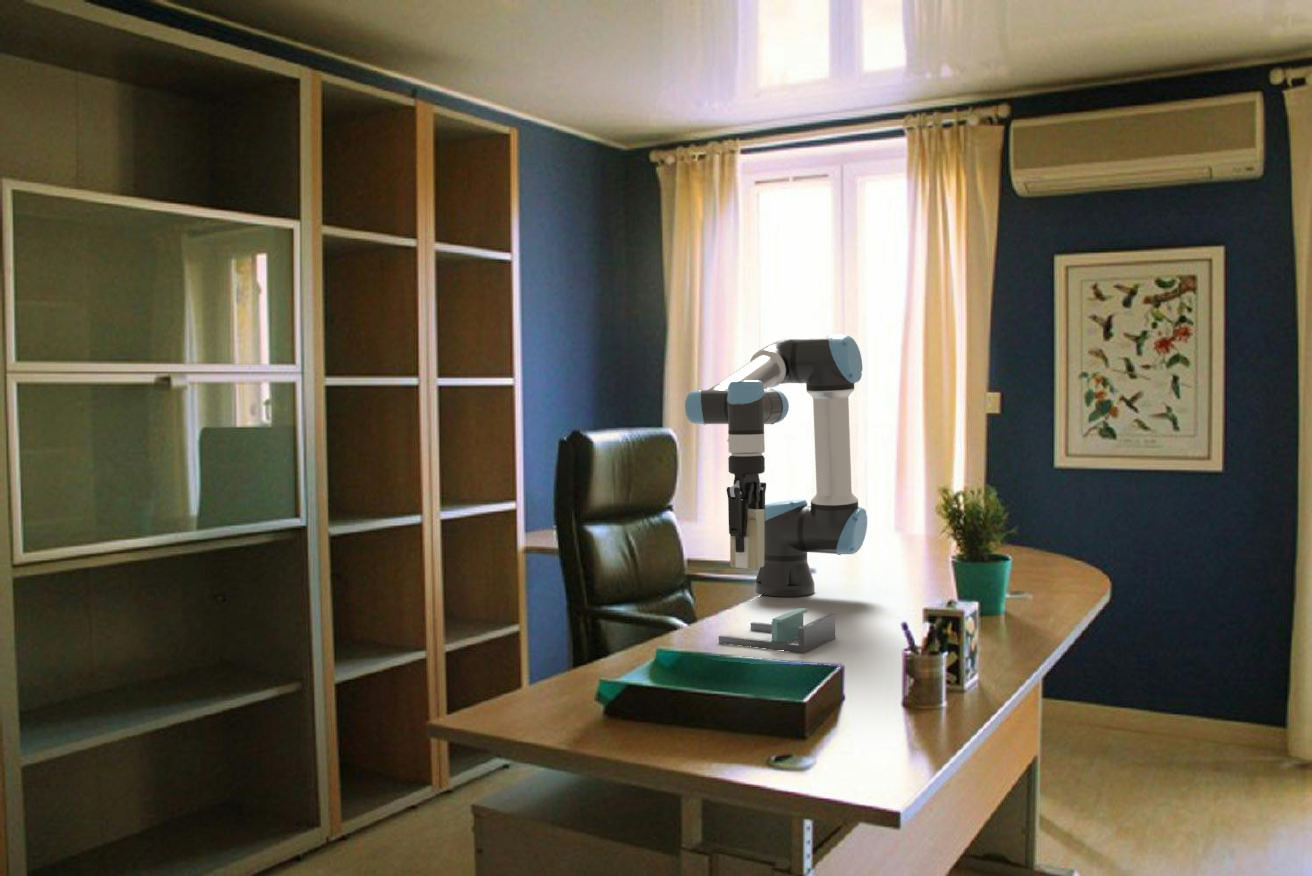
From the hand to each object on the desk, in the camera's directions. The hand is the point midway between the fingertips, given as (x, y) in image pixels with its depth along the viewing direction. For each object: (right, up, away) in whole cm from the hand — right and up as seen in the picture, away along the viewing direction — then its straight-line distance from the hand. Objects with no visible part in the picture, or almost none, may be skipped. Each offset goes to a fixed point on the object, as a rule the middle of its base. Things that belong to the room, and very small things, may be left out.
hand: (747, 565), depth 235 cm
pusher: (+8, -15, -4) cm, 18 cm away
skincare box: (0, 0, 0) cm, 0 cm away
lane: (+5, -15, -3) cm, 16 cm away
